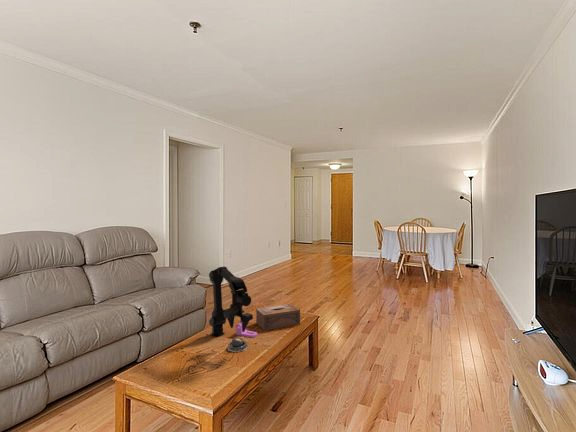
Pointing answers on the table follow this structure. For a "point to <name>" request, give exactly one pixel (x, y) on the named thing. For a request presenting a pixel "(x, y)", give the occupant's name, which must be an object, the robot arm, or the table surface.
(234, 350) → the shallow metal dish
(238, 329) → the bracket
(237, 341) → the cap
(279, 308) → the tissue box cover
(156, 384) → the table surface
